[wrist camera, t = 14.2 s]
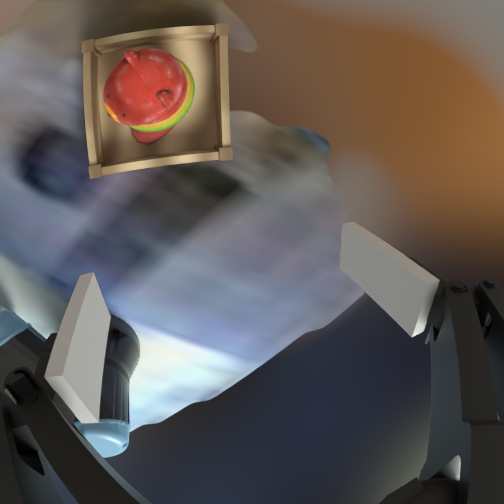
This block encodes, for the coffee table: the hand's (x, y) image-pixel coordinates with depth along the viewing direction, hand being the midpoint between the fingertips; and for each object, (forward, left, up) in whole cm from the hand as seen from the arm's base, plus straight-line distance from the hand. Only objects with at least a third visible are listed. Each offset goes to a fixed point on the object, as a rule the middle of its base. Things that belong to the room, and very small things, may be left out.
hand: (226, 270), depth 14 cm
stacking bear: (-4, +11, -29) cm, 31 cm away
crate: (-4, +11, -29) cm, 31 cm away
